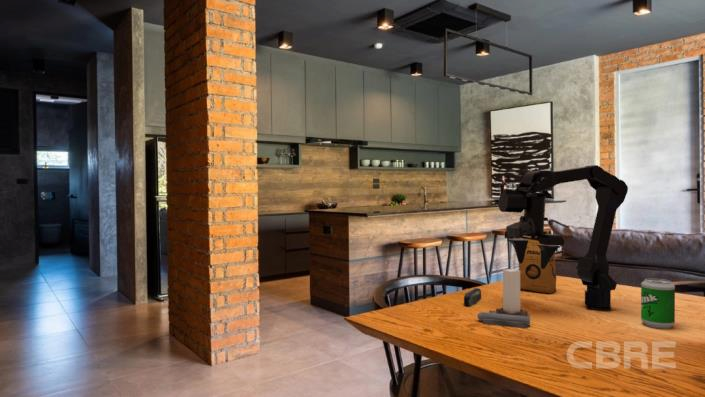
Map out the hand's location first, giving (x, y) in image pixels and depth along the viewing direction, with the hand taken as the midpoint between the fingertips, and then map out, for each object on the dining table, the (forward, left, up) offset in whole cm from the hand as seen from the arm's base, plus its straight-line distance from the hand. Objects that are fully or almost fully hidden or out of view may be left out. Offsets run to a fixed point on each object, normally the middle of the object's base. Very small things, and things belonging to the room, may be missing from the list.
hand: (531, 265), depth 139 cm
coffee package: (-1, -30, -14) cm, 33 cm away
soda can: (-32, +2, -14) cm, 35 cm away
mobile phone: (+17, 0, -14) cm, 22 cm away
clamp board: (+5, +15, -14) cm, 21 cm away
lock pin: (+4, +13, -12) cm, 18 cm away
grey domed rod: (+5, +19, -12) cm, 24 cm away
